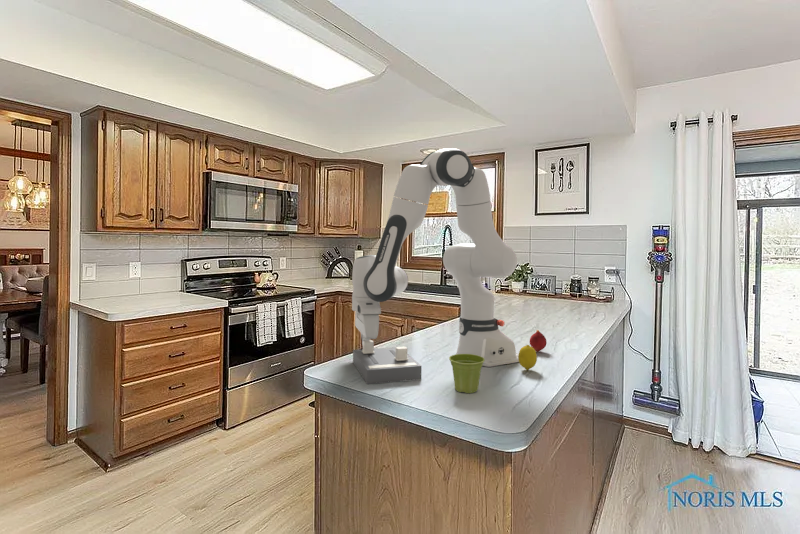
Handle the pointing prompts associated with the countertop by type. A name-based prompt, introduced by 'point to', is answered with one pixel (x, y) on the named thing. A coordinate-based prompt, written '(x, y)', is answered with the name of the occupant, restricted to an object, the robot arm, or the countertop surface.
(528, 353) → the lemon
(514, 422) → the countertop surface
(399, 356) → the block
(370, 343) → the block
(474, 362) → the plant pot
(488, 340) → the robot arm
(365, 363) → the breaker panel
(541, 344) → the onion
